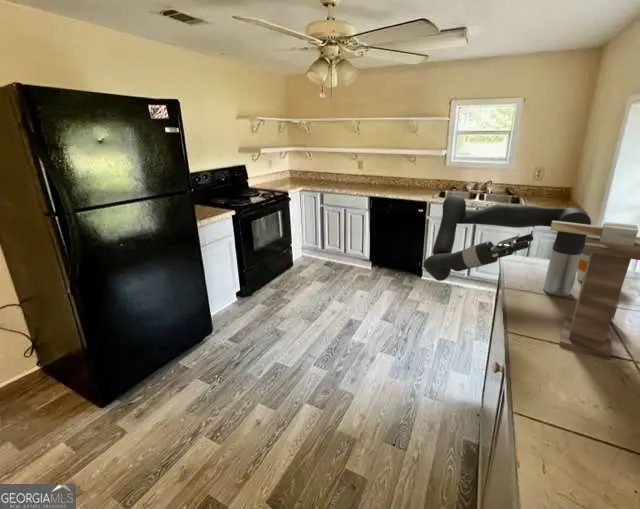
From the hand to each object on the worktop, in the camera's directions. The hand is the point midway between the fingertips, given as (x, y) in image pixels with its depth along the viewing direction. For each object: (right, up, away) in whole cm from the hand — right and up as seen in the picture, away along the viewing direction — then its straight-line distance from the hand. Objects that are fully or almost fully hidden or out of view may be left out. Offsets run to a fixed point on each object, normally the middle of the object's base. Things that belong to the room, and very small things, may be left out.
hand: (530, 240), depth 107 cm
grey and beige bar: (+11, 0, -9) cm, 15 cm away
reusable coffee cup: (+48, -16, +37) cm, 63 cm away
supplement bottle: (+29, -27, +8) cm, 41 cm away
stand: (+16, -31, -1) cm, 35 cm away
